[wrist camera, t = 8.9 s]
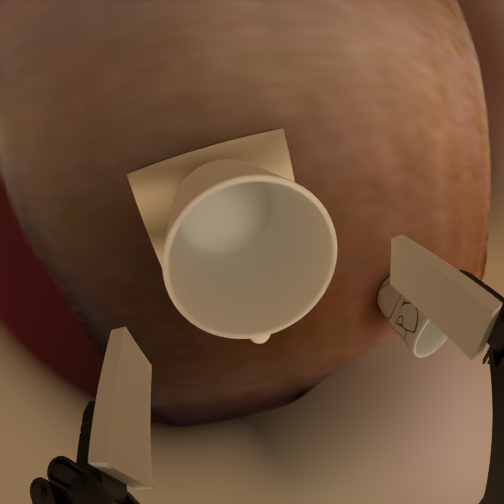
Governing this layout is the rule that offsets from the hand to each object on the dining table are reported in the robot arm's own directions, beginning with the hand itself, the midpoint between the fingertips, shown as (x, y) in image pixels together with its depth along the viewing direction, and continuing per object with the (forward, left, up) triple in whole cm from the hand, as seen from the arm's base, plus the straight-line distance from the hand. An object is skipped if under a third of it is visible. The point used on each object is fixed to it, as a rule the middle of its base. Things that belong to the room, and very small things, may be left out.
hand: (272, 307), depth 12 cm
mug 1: (0, 0, -12) cm, 12 cm away
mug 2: (+17, +21, -15) cm, 31 cm away
